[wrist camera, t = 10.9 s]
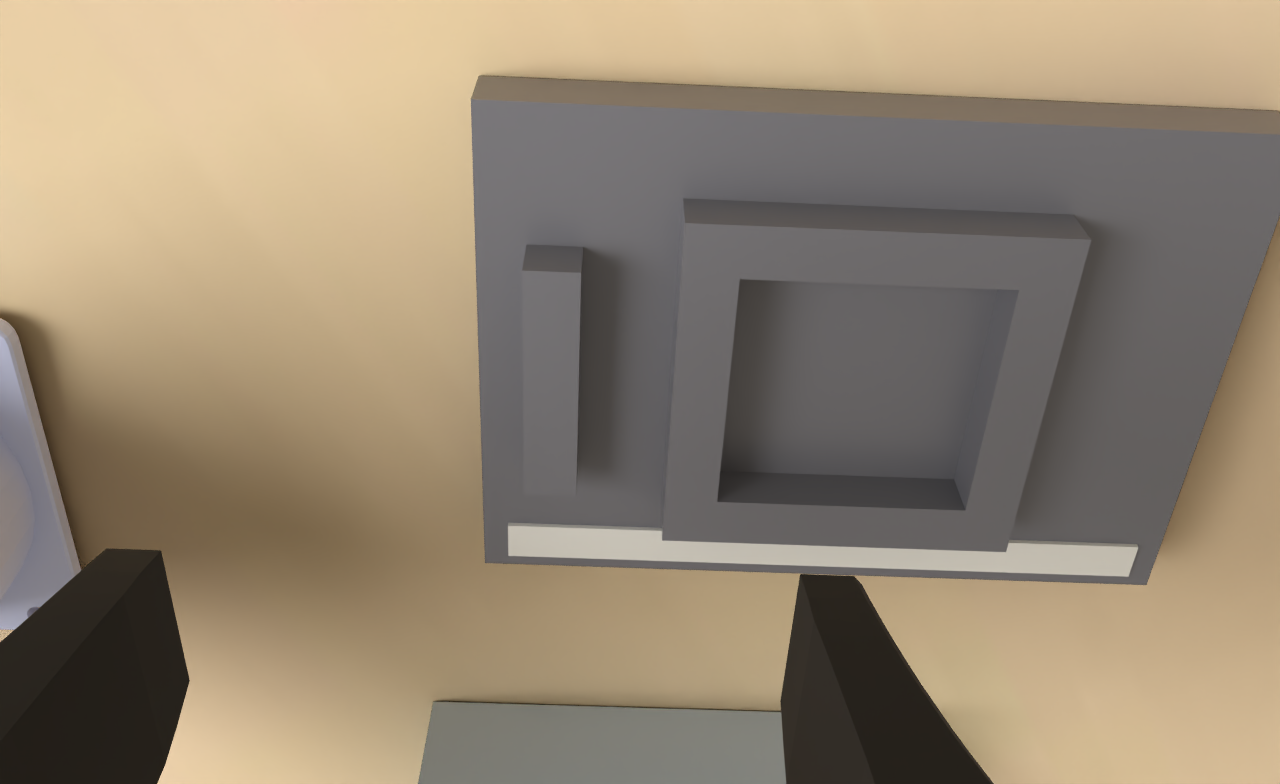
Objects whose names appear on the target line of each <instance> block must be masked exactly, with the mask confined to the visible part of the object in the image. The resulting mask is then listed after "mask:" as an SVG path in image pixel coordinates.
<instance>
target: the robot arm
mask: <svg viewBox="0 0 1280 784" xmlns="http://www.w3.org/2000/svg"><path fill="white" fill-rule="evenodd" d="M38 607H40V608H38ZM0 629H8V630H14V631H13V632H12V633H10V634H9V635H8V636H7V637H6V638H5V639H4V640H2V641H1V642H0V784H157V783H158V780H159V778H160V775H161V773H162V771H163V768H164V766H165V763H166V760H167V757H168V754H169V750H170V747H171V744H172V741H173V737H174V734H175V731H176V728H177V724H178V720H179V717H180V713H181V710H182V706H183V702H184V699H185V695H186V691H187V688H188V684H189V681H190V680H189V676H188V671H187V667H186V662H185V658H184V653H183V649H182V644H181V640H180V635H179V630H178V626H177V621H176V617H175V612H174V608H173V603H172V599H171V594H170V590H169V585H168V581H167V576H166V571H165V567H164V562H163V558H162V553H161V551H157V550H130V549H105V550H104V551H103V552H102V553H101V554H100V555H99V556H97V557H96V558H95V559H94V560H93V561H92V562H90V563H89V564H88V565H87V566H86V567H85V568H84V569H82V570H81V568H80V564H79V560H78V557H77V553H76V549H75V545H74V542H73V538H72V534H71V530H70V527H69V523H68V519H67V516H66V512H65V508H64V504H63V501H62V497H61V493H60V489H59V486H58V482H57V478H56V474H55V471H54V467H53V463H52V460H51V456H50V452H49V448H48V445H47V441H46V437H45V433H44V430H43V426H42V422H41V419H40V415H39V411H38V407H37V404H36V400H35V396H34V392H33V389H32V385H31V381H30V378H29V374H28V370H27V366H26V363H25V359H24V355H23V351H22V348H21V344H20V340H19V337H18V335H17V333H16V331H15V329H14V328H13V327H12V326H11V325H10V324H9V323H8V322H7V321H5V320H3V319H1V318H0ZM781 716H782V732H783V748H784V761H785V774H786V784H994V783H993V782H992V781H991V780H990V778H989V777H988V776H987V774H986V773H985V772H984V771H983V769H982V768H981V767H980V765H979V764H978V763H977V762H976V760H975V759H974V758H973V756H972V755H971V754H970V753H969V751H968V750H967V749H966V747H965V746H964V744H963V743H962V742H961V740H960V739H959V738H958V736H957V735H956V734H955V732H954V731H953V730H952V728H951V727H950V725H949V724H948V722H947V721H946V719H945V718H944V717H943V715H942V714H941V712H940V711H939V709H938V708H937V706H936V705H935V704H934V702H933V701H932V699H931V698H930V696H929V695H928V693H927V692H926V690H925V689H924V688H923V686H922V685H921V683H920V682H919V680H918V678H917V677H916V675H915V674H914V672H913V671H912V669H911V668H910V666H909V665H908V663H907V661H906V660H905V658H904V657H903V655H902V653H901V652H900V650H899V648H898V647H897V645H896V644H895V642H894V640H893V639H892V637H891V635H890V634H889V632H888V630H887V629H886V627H885V625H884V624H883V622H882V620H881V618H880V617H879V615H878V613H877V611H876V610H875V608H874V606H873V604H872V602H871V601H870V599H869V597H868V595H867V593H866V592H865V590H864V588H863V586H862V584H861V583H860V582H859V581H858V580H857V579H856V578H855V577H854V576H834V575H807V574H800V580H799V586H798V592H797V599H796V605H795V612H794V618H793V624H792V631H791V637H790V644H789V650H788V657H787V663H786V669H785V676H784V682H783V689H782V695H781Z"/></svg>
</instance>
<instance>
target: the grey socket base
mask: <svg viewBox="0 0 1280 784" xmlns="http://www.w3.org/2000/svg"><path fill="white" fill-rule="evenodd" d="M471 117H472V150H473V183H474V216H475V249H476V282H477V314H478V347H479V380H480V413H481V446H482V478H483V511H484V544H485V563H503V564H533V565H563V566H593V567H623V568H653V569H683V570H713V571H743V572H773V573H803V574H833V575H863V576H893V577H923V578H953V579H983V580H1013V581H1043V582H1073V583H1103V584H1133V585H1146V584H1147V582H1148V579H1149V576H1150V573H1151V570H1152V568H1153V565H1154V562H1155V559H1156V557H1157V554H1158V551H1159V548H1160V546H1161V543H1162V540H1163V537H1164V535H1165V532H1166V529H1167V526H1168V523H1169V521H1170V518H1171V515H1172V512H1173V510H1174V507H1175V504H1176V501H1177V499H1178V496H1179V493H1180V490H1181V487H1182V485H1183V482H1184V479H1185V476H1186V474H1187V471H1188V468H1189V465H1190V463H1191V460H1192V457H1193V454H1194V451H1195V449H1196V446H1197V443H1198V440H1199V438H1200V435H1201V432H1202V429H1203V427H1204V424H1205V421H1206V418H1207V416H1208V413H1209V410H1210V407H1211V404H1212V402H1213V399H1214V396H1215V393H1216V391H1217V388H1218V385H1219V382H1220V380H1221V377H1222V374H1223V371H1224V368H1225V366H1226V363H1227V360H1228V357H1229V355H1230V352H1231V349H1232V346H1233V344H1234V341H1235V338H1236V335H1237V332H1238V330H1239V327H1240V324H1241V321H1242V319H1243V316H1244V313H1245V310H1246V308H1247V305H1248V302H1249V299H1250V297H1251V294H1252V291H1253V288H1254V285H1255V283H1256V280H1257V277H1258V274H1259V272H1260V269H1261V266H1262V263H1263V261H1264V258H1265V255H1266V252H1267V249H1268V247H1269V244H1270V241H1271V238H1272V236H1273V233H1274V230H1275V227H1276V225H1277V222H1278V219H1279V216H1280V113H1279V112H1278V111H1269V110H1246V109H1223V108H1201V107H1178V106H1155V105H1133V104H1110V103H1087V102H1065V101H1042V100H1020V99H997V98H974V97H952V96H929V95H906V94H884V93H861V92H838V91H816V90H793V89H771V88H748V87H725V86H703V85H680V84H657V83H635V82H612V81H589V80H567V79H544V78H521V77H499V76H479V77H478V80H477V83H476V86H475V89H474V92H473V95H472V98H471Z"/></svg>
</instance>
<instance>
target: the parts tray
mask: <svg viewBox="0 0 1280 784" xmlns="http://www.w3.org/2000/svg"><path fill="white" fill-rule="evenodd" d="M418 784H786V774H785V761H784V748H783V732H782V716H781V712H763V711H730V710H696V709H663V708H630V707H597V706H564V705H531V704H498V703H465V702H433V706H432V711H431V717H430V722H429V728H428V733H427V738H426V744H425V749H424V755H423V760H422V765H421V771H420V776H419V782H418Z"/></svg>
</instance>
